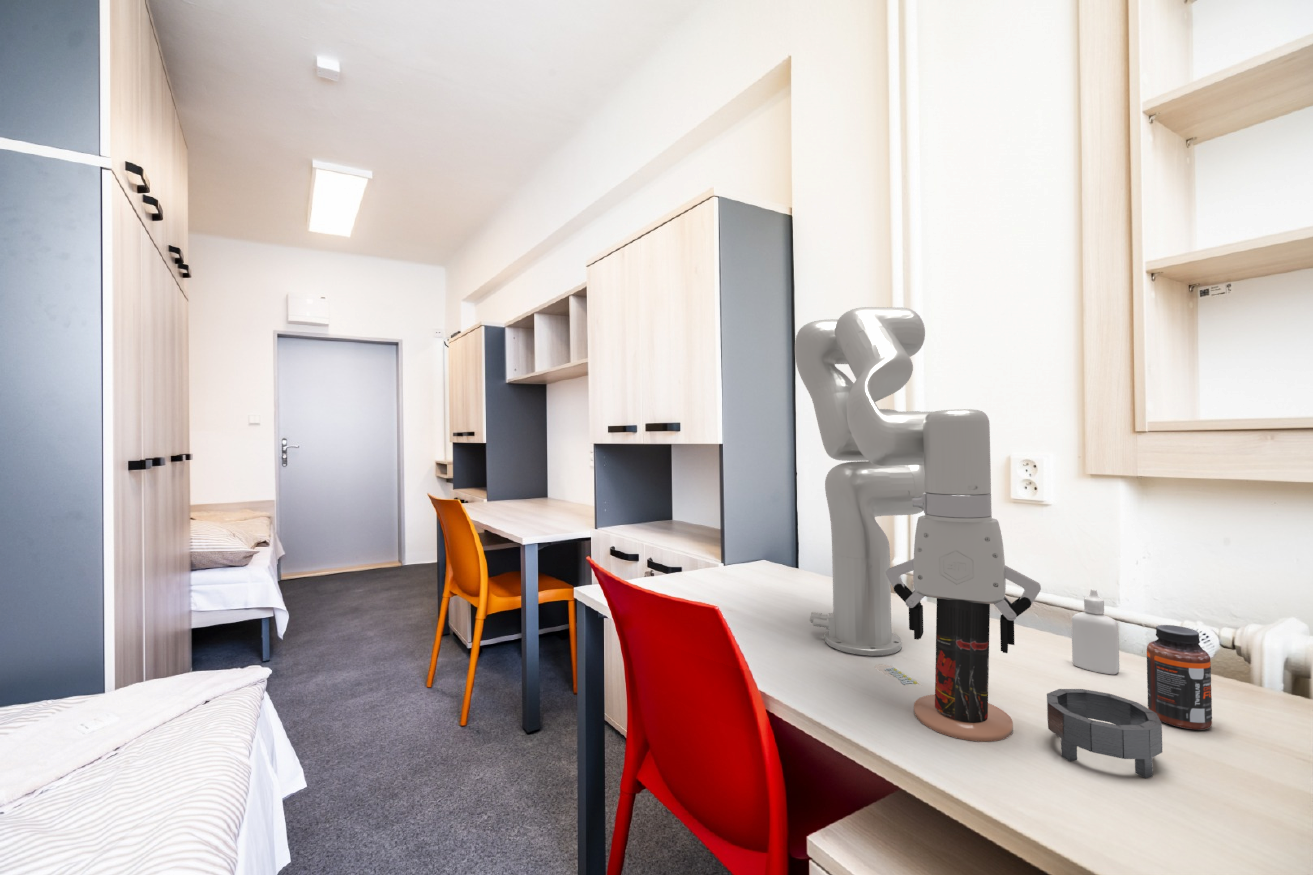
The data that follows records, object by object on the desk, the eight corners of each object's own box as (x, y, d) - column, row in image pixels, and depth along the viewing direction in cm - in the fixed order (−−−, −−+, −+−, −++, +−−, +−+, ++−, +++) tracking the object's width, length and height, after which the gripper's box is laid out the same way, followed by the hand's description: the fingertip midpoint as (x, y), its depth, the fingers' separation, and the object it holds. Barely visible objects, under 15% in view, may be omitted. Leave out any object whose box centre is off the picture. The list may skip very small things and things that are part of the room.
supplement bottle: (1219, 737, 68) (1216, 640, 68) (1152, 724, 71) (1150, 632, 71) (1205, 716, 73) (1202, 626, 73) (1144, 705, 76) (1141, 619, 76)
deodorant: (995, 725, 70) (997, 600, 70) (942, 719, 71) (944, 597, 71) (978, 703, 76) (980, 588, 76) (929, 698, 77) (931, 585, 77)
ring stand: (1050, 761, 63) (1049, 715, 63) (1046, 723, 72) (1045, 682, 72) (1170, 788, 58) (1169, 738, 58) (1151, 744, 67) (1150, 700, 67)
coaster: (907, 726, 71) (907, 720, 72) (920, 693, 81) (920, 687, 81) (1012, 750, 66) (1012, 743, 66) (1013, 711, 75) (1013, 705, 75)
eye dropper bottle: (1089, 660, 92) (1088, 584, 92) (1125, 674, 86) (1123, 593, 86) (1067, 663, 91) (1065, 586, 91) (1101, 677, 85) (1099, 595, 85)
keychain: (931, 688, 82) (912, 691, 81) (931, 693, 82) (912, 695, 81) (887, 661, 92) (870, 663, 91) (888, 665, 92) (870, 667, 91)
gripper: (879, 507, 75) (882, 640, 75) (1039, 514, 66) (1043, 665, 66) (890, 501, 81) (892, 624, 81) (1038, 507, 72) (1041, 645, 72)
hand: (960, 642), depth 73 cm, fingers open, 9 cm apart
